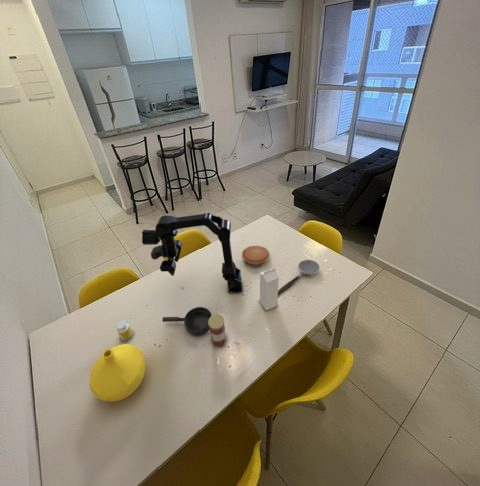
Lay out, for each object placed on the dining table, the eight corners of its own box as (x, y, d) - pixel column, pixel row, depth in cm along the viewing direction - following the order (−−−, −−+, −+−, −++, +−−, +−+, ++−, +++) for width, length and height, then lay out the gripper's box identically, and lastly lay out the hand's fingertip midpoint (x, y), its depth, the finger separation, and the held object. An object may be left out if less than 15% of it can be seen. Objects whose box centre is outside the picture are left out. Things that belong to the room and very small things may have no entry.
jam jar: (227, 332, 110) (224, 314, 103) (226, 346, 105) (223, 328, 98) (212, 332, 110) (209, 314, 103) (210, 346, 105) (207, 328, 98)
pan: (214, 312, 119) (213, 306, 117) (211, 336, 109) (210, 330, 107) (188, 312, 119) (186, 307, 117) (183, 336, 109) (181, 331, 107)
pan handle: (185, 318, 114) (185, 315, 112) (184, 322, 112) (184, 319, 111) (164, 318, 114) (163, 316, 113) (162, 322, 112) (161, 320, 111)
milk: (277, 306, 120) (279, 272, 108) (265, 310, 118) (267, 277, 106) (270, 296, 125) (272, 263, 112) (259, 301, 123) (260, 267, 110)
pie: (270, 268, 141) (270, 261, 138) (242, 268, 141) (241, 262, 138) (268, 249, 153) (268, 243, 150) (242, 250, 154) (242, 244, 151)
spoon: (323, 270, 137) (323, 266, 135) (280, 306, 121) (280, 302, 119) (306, 261, 144) (306, 257, 143) (264, 294, 128) (264, 289, 127)
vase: (150, 398, 90) (135, 372, 79) (94, 417, 86) (70, 391, 76) (149, 350, 105) (137, 322, 94) (101, 364, 101) (82, 336, 90)
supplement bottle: (135, 332, 112) (129, 321, 107) (128, 342, 108) (121, 330, 103) (126, 329, 113) (120, 318, 108) (118, 339, 110) (112, 327, 105)
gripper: (156, 230, 122) (163, 255, 131) (144, 257, 106) (152, 283, 115) (179, 230, 121) (184, 255, 130) (170, 256, 106) (177, 283, 115)
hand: (174, 268), depth 123 cm, fingers open, 9 cm apart
